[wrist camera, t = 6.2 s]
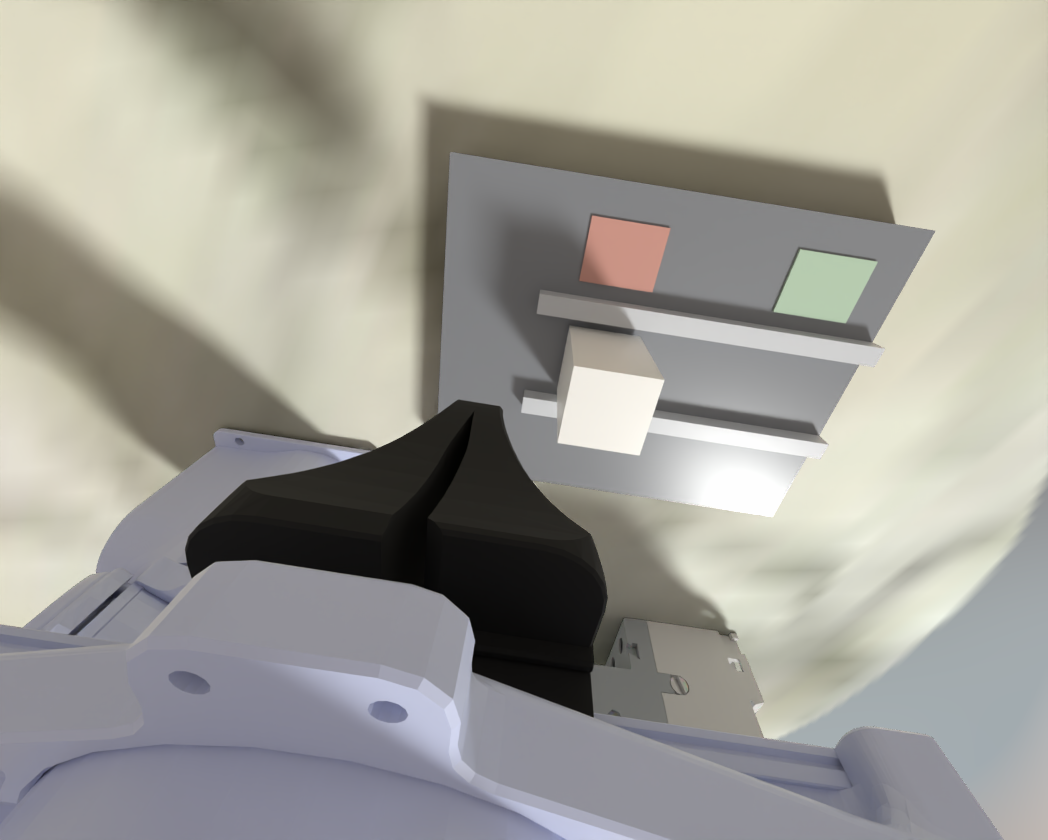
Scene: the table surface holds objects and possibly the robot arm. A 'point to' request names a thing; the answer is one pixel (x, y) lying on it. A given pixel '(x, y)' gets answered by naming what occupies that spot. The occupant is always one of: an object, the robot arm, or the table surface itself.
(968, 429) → the table surface
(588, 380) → the handle
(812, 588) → the table surface
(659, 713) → the circuit breaker
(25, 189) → the table surface
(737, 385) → the panel
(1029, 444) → the table surface
